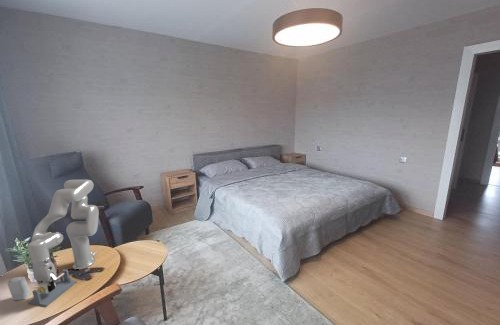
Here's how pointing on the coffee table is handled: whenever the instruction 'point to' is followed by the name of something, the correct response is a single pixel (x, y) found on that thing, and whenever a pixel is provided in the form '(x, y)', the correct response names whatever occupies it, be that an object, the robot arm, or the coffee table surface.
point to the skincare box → (18, 288)
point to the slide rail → (49, 297)
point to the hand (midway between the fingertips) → (48, 289)
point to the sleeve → (45, 285)
